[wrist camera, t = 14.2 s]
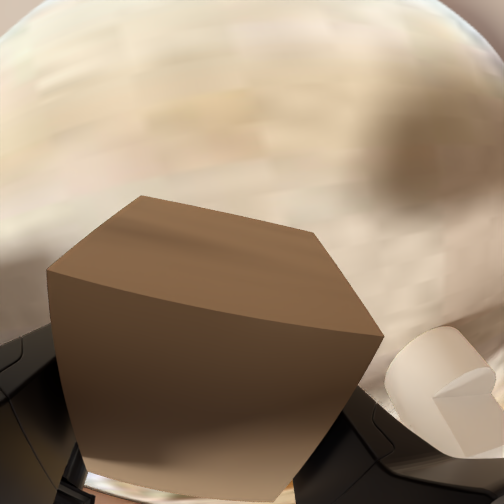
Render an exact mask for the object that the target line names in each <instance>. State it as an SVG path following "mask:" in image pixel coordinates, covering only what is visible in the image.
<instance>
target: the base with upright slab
mask: <svg viewBox="0 0 504 504" xmlns="http://www.w3.org/2000/svg"><path fill="white" fill-rule="evenodd" d="M495 381H496V374H495V372H494V371H493V369H492V368H491V367H490V366H489V365H488V363H487V362H486V361H485V360H484V359H483V358H482V356H481V355H480V354H479V353H478V352H477V351H476V350H475V348H474V347H473V346H472V345H471V344H470V343H469V342H468V341H467V339H466V338H465V337H464V336H463V335H462V334H461V333H460V332H459V331H458V330H457V329H456V328H453V327H450V326H441V327H438V328H434V329H431V330H429V331H427V332H425V333H423V334H421V335H419V336H418V337H416V338H415V339H413V340H412V341H411V342H409V343H408V344H407V345H406V346H405V347H404V348H403V349H402V350H401V351H400V352H399V353H398V354H397V355H396V357H395V358H394V359H393V361H392V362H391V364H390V366H389V368H388V370H387V372H386V376H385V380H384V384H385V389H386V391H387V393H388V395H389V397H390V399H391V401H392V403H393V405H394V408H395V410H396V412H397V414H398V416H399V418H400V420H401V422H402V424H403V425H404V426H406V427H407V428H408V429H409V430H411V431H412V432H414V433H415V434H416V435H418V436H419V437H421V438H422V439H423V440H425V441H426V442H428V443H429V444H430V445H432V446H433V447H435V448H436V449H437V450H439V451H440V452H442V453H444V454H446V455H448V456H451V457H455V458H466V459H483V458H504V410H503V409H502V408H501V406H500V405H499V403H498V402H497V401H496V399H495V398H494V397H493V395H492V394H491V392H492V390H493V388H494V385H495Z"/></svg>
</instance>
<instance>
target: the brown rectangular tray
mask: <svg viewBox="0 0 504 504" xmlns="http://www.w3.org/2000/svg"><path fill="white" fill-rule="evenodd" d="M83 491H85V492H87V493H89V494H93V495H95V496H96V498H95V504H141V503H136V502H132V501H128V500H124V499H121V498H117V497H113V496H110V495H107V494H103V493H100V492H97V491H94V490H91V489H88V488H85V487H83Z"/></svg>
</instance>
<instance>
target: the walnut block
mask: <svg viewBox="0 0 504 504" xmlns="http://www.w3.org/2000/svg"><path fill="white" fill-rule="evenodd" d="M46 272H47V288H48V300H49V310H50V319H51V327H52V334H53V341H54V347H55V353H56V359H57V364H58V370H59V375H60V379H61V384H62V388H63V393H64V397H65V401H66V405H67V409H68V413H69V416H70V420H71V424H72V427H73V430H74V434H75V437H76V440H77V443H78V446H79V449H80V452H81V455H82V458H83V461H84V464H85V467H86V469H87V471H88V472H91V473H94V474H97V475H101V476H104V477H107V478H111V479H114V480H118V481H121V482H125V483H129V484H133V485H137V486H141V487H145V488H150V489H155V490H159V491H165V492H170V493H176V494H182V495H188V496H195V497H202V498H211V499H220V500H232V501H248V502H274V501H275V500H276V498H277V497H278V496H279V495H280V494H281V492H282V491H283V490H284V489H285V488H286V486H287V485H288V484H289V483H290V482H291V480H292V479H293V478H294V477H295V475H296V474H297V473H298V471H299V470H300V469H301V468H302V466H303V465H304V464H305V462H306V461H307V460H308V458H309V457H310V456H311V454H312V453H313V452H314V450H315V449H316V447H317V446H318V445H319V443H320V442H321V440H322V439H323V438H324V436H325V435H326V433H327V432H328V430H329V429H330V427H331V426H332V425H333V423H334V422H335V420H336V419H337V417H338V415H339V414H340V412H341V411H342V409H343V408H344V406H345V405H346V403H347V401H348V400H349V398H350V397H351V395H352V393H353V392H354V390H355V388H356V387H357V385H358V383H359V382H360V380H361V378H362V377H363V375H364V373H365V371H366V370H367V368H368V366H369V364H370V362H371V361H372V359H373V357H374V355H375V353H376V351H377V350H378V348H379V346H380V344H381V342H382V340H383V338H384V335H383V333H382V332H381V330H380V329H379V327H378V326H377V324H376V323H375V321H374V320H373V318H372V317H371V315H370V314H369V312H368V310H367V309H366V307H365V306H364V304H363V303H362V301H361V300H360V299H359V297H358V296H357V294H356V293H355V291H354V290H353V288H352V287H351V285H350V284H349V282H348V281H347V279H346V278H345V277H344V275H343V274H342V272H341V271H340V269H339V268H338V267H337V265H336V264H335V262H334V261H333V259H332V258H331V257H330V255H329V254H328V252H327V251H326V250H325V248H324V247H323V245H322V244H321V243H320V241H319V240H318V238H317V237H316V236H315V234H314V233H312V232H308V231H304V230H300V229H295V228H291V227H287V226H283V225H278V224H274V223H269V222H265V221H261V220H256V219H252V218H247V217H243V216H238V215H234V214H229V213H224V212H220V211H215V210H210V209H206V208H201V207H196V206H191V205H186V204H182V203H177V202H172V201H167V200H162V199H157V198H152V197H147V196H140V197H138V198H137V199H135V200H134V201H133V202H131V203H130V204H128V205H127V206H126V207H124V208H123V209H122V210H120V211H119V212H117V213H116V214H115V215H113V216H112V217H111V218H109V219H108V220H107V221H105V222H104V223H103V224H102V225H100V226H99V227H98V228H96V229H95V230H94V231H93V232H91V233H90V234H89V235H87V236H86V237H85V238H84V239H82V240H81V241H80V242H79V243H77V244H76V245H75V246H74V247H73V248H71V249H70V250H69V251H68V252H66V253H65V254H64V255H63V256H62V257H61V258H59V259H58V260H57V261H56V262H55V263H53V264H52V265H51V266H50V267H49V268H48V269H47V270H46Z"/></svg>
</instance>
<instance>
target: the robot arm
mask: <svg viewBox="0 0 504 504" xmlns="http://www.w3.org/2000/svg"><path fill="white" fill-rule="evenodd" d="M87 474H88V471H87V469H86V467H85V464H84V461H83V458H82V455H81V452H80V449H79V446H78V443H77V440H76V437H75V434H74V430H73V427H72V424H71V420H70V416H69V413H68V409H67V405H66V401H65V397H64V393H63V388H62V384H61V379H60V375H59V370H58V364H57V359H56V353H55V347H54V341H53V334H52V327H51V323H50V324H48V325H46V326H43V327H41V328H39V329H37V330H34V331H32V332H30V333H28V334H26V335H23V336H22V337H19V338H17V339H15V340H12V341H10V342H8V343H5V344H3V345H1V346H0V504H95V498H96V496H95V495H93V494H89V493H87V492H85V491H83V487H84V484H85V480H86V477H87ZM293 486H294V493H295V500H296V504H504V458H483V459H466V458H455V457H451V456H448V455H446V454H444V453H442V452H440V451H439V450H437V449H436V448H435V447H433V446H432V445H430V444H429V443H428V442H426V441H425V440H423V439H422V438H421V437H419V436H418V435H416V434H415V433H414V432H412V431H411V430H409V429H408V428H407V427H406V426H404V425H403V424H402V423H400V422H399V421H398V420H396V419H395V418H394V417H393V416H392V415H390V414H389V413H388V412H387V411H386V410H385V409H383V408H382V407H381V406H380V405H379V404H378V403H376V402H375V401H374V400H373V399H372V398H371V397H370V396H369V395H368V394H367V393H365V392H364V391H363V390H362V389H361V388H360V387H359V386H358V385H357V387H356V388H355V390H354V392H353V393H352V395H351V397H350V398H349V400H348V401H347V403H346V405H345V406H344V408H343V409H342V411H341V412H340V414H339V415H338V417H337V419H336V420H335V422H334V423H333V425H332V426H331V427H330V429H329V430H328V432H327V433H326V435H325V436H324V438H323V439H322V440H321V442H320V443H319V445H318V446H317V447H316V449H315V450H314V452H313V453H312V454H311V456H310V457H309V458H308V460H307V461H306V462H305V464H304V465H303V466H302V468H301V469H300V470H299V471H298V473H297V474H296V475H295V477H294V478H293Z"/></svg>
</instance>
